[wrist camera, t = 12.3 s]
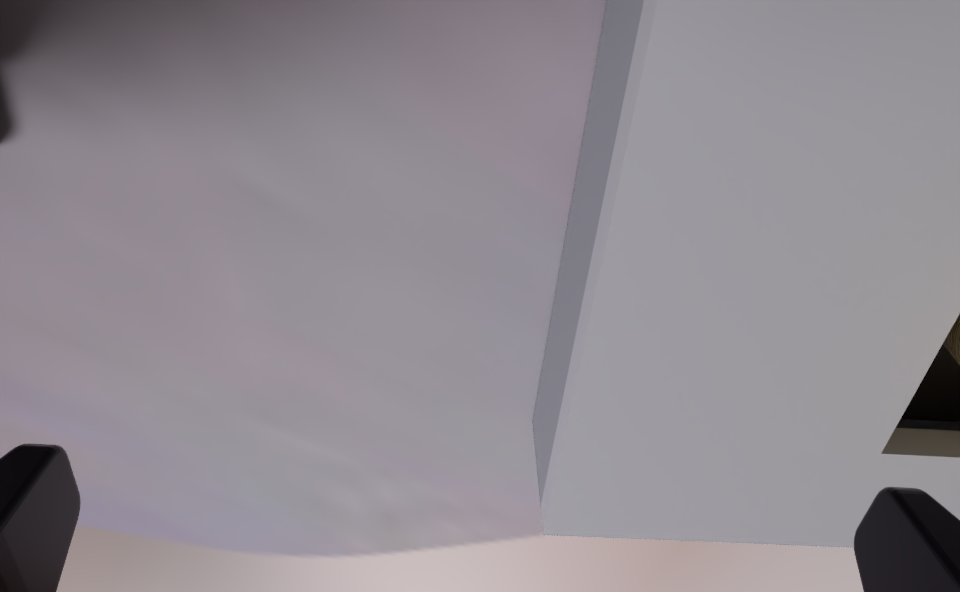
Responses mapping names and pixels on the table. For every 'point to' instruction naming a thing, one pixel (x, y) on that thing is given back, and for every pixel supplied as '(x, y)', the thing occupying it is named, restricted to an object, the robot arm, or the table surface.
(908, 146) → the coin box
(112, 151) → the table surface
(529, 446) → the table surface
